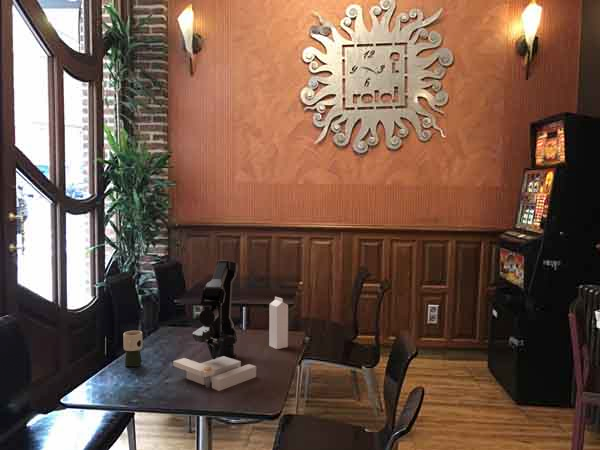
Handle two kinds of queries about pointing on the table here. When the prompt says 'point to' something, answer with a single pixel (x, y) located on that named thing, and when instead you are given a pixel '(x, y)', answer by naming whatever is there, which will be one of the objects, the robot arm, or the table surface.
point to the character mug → (132, 347)
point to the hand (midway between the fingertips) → (213, 359)
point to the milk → (278, 324)
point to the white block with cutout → (225, 378)
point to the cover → (194, 367)
